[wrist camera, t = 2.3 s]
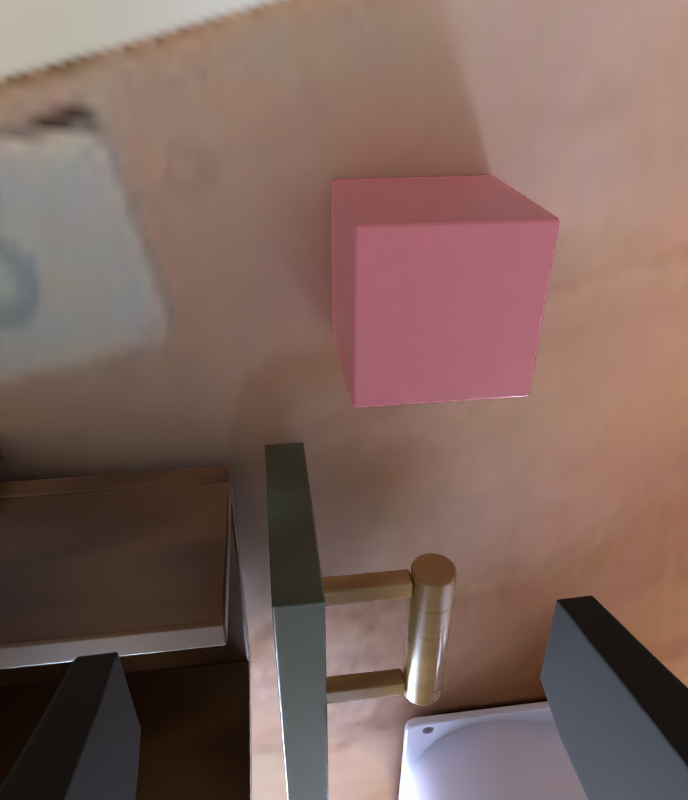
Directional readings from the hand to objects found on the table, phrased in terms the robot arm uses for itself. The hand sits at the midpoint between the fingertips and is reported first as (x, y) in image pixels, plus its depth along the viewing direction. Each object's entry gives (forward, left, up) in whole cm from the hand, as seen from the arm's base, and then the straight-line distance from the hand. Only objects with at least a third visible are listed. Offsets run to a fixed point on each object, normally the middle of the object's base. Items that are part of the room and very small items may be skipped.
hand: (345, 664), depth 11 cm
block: (-3, -3, -10) cm, 11 cm away
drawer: (+4, +7, -10) cm, 13 cm away
